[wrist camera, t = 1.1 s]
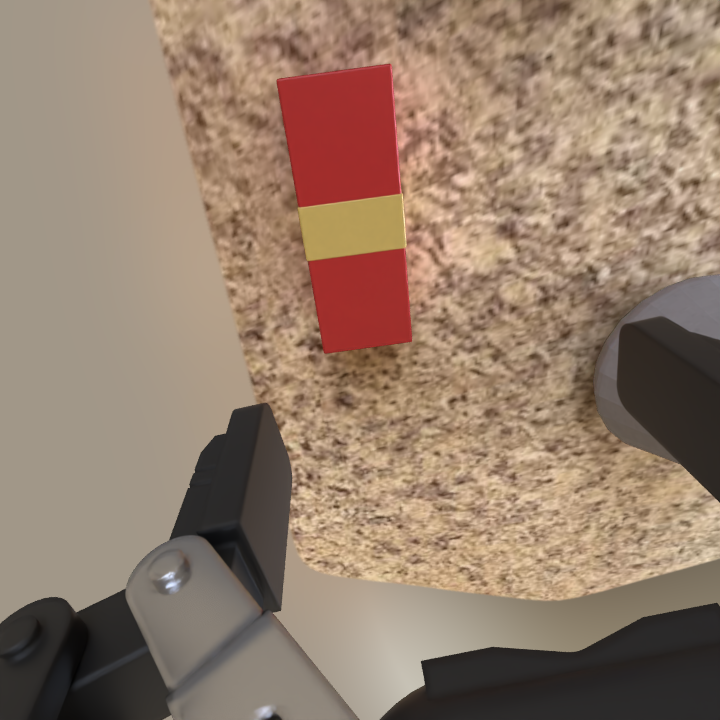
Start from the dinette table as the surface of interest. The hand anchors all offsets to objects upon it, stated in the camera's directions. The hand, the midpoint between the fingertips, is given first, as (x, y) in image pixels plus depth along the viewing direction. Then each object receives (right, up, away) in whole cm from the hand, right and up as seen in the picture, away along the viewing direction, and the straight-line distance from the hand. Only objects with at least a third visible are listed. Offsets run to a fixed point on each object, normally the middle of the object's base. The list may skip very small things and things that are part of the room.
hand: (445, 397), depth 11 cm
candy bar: (-2, +9, +14) cm, 16 cm away
